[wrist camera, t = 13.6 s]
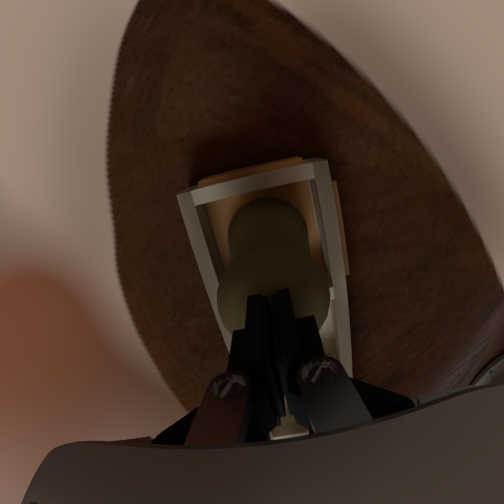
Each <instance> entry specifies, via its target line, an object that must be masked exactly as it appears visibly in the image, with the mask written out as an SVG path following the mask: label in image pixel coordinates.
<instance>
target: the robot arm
mask: <svg viewBox="0 0 504 504" xmlns="http://www.w3.org/2000/svg"><path fill="white" fill-rule="evenodd" d="M271 305H272V313H271V309H270V305H269V301H268V297H267V296H263V297H262V294H261V293H260V294H255V295H250V296H247V306H246V318H245V328H244V329H238V330H234V331H233V333H232V340H231V348H230V355H229V362H228V369H227V372H225V373H222V374H219V375H218V376H216V377H214V378H213V379H212V380H211V381H210V382H209V384H208V386H207V388H206V390H205V393H204V395H203V398H202V400H201V403H200V405H199V406H198V407H197V408H196V409H194V410H193V411H191V412H190V413H189V414H187V415H186V416H184V417H183V418H181V419H180V420H179V421H177V422H176V423H174V424H173V425H171V426H170V427H168V428H167V429H165V430H164V431H162V432H161V433H160V434H159V435H157V437H156V438H155V439H153V438H152V437H151V436H149V437H142V438H135V439H127V440H119V441H79V442H72V443H67V444H64V445H61V446H58V447H56V448H54V449H53V450H51V451H50V452H49V453H48V454H47V456H46V457H45V458H44V460H43V461H42V463H41V464H40V466H39V468H38V469H37V471H36V473H35V475H34V477H33V479H32V481H31V483H30V485H29V487H28V489H27V491H26V494H25V496H24V498H23V501H22V503H21V504H504V354H502V355H500V356H499V357H498V358H496V359H495V360H494V361H492V362H491V363H490V364H489V365H488V366H487V367H486V368H485V369H484V370H483V371H482V372H481V373H480V374H479V375H478V376H477V377H476V378H475V380H474V381H473V382H472V383H471V385H468V386H464V387H460V388H455V389H451V390H446V391H441V392H436V393H430V394H425V395H419V396H418V399H413V400H411V399H410V398H408V397H406V396H404V395H401V394H398V393H394V392H391V391H388V390H385V389H382V388H379V387H376V386H374V385H371V384H368V383H365V382H362V381H359V380H356V379H354V378H351V377H349V376H348V374H347V372H346V370H345V369H344V367H343V365H342V364H341V363H340V361H339V360H337V359H335V358H334V357H330V356H325V352H324V348H323V344H322V341H321V337H320V334H319V330H318V326H317V323H316V319H315V316H314V315H311V316H306V317H302V318H297V319H295V315H294V310H293V305H292V300H291V295H290V291H289V288H285V289H280V290H276V294H273V295H271ZM284 395H285V396H284ZM285 399H286V402H287V406H288V410H289V413H290V416H292V415H294V418H295V421H296V423H297V424H299V425H301V426H303V427H305V428H307V430H308V434H309V435H303V436H297V437H291V438H284V439H276V440H271V434H270V432H271V431H272V430H273V429H274V428H275V427H276V426H281V417H286V410H285Z"/></svg>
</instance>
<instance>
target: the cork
mask: <svg viewBox="0 0 504 504" xmlns="http://www.w3.org/2000/svg"><path fill="white" fill-rule="evenodd" d="M228 244H229V255H230V264H229V265H228V266H227V268H226V269H225V270H224V272H223V275H222V278H221V281H220V283H219V286H218V290H217V308H218V313H219V316H220V318H221V320H222V323H223V325H224V327H225V328H226V330H227V331H228V332H229V333H230V334H231V335H232V333H233V331H234V330H238V329H244V328H245V318H246V306H247V296H250V295H255V294H260V293H261V294H262V297H263V296H267V297H268V301H269V305H270V309H271V313H272V305H271V295H273V294H276V290H280V289H285V288H289V291H290V295H291V300H292V305H293V310H294V315H295V319H297V318H302V317H306V316H311V315H314V316H315V319H316V323H317V326H318V330H320V329H321V327H322V325H323V323H324V322H325V320H326V318H327V316H328V311H329V306H330V296H331V295H330V290H329V284H328V280H327V278H326V276H325V274H324V272H323V270H322V269H321V267H320V266H319V264H318V262H317V261H316V260H315V259H314V258H312V257H311V256H310V247H309V237H308V230H307V226H306V221H305V219H304V218H303V216H302V215H301V213H300V211H299V210H298V209H297V208H296V207H294V206H293V205H292V204H291V203H289V202H287V201H285V200H282V199H279V198H276V197H262V198H258V199H254V200H251V201H249V202H248V203H246V204H245V205H243V206H242V207H240V208H239V210H238V211H237V212H236V214H235V215H234V216H233V217H232V220H231V223H230V226H229V229H228Z"/></svg>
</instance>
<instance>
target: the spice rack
mask: <svg viewBox="0 0 504 504" xmlns="http://www.w3.org/2000/svg"><path fill="white" fill-rule="evenodd" d="M176 196H177V199H178V203H179V206H180V209H181V213H182V216H183V219H184V222H185V226H186V229H187V232H188V235H189V239H190V242H191V245H192V248H193V251H194V254H195V257H196V260H197V263H198V266H199V269H200V272H201V275H202V278H203V281H204V284H205V287H206V290H207V293H208V296H209V299H210V302H211V304H212V307H213V310H214V313H215V316H216V318H217V321H218V324H219V327H220V329H221V332H222V335H223V338H224V340H225V343H226V346H227V348H228V351H229V354H230V348H231V340H232V335H231V334H230V333H229V332H228V331H227V330H226V328H225V327H224V325H223V323H222V320H221V318H220V316H219V313H218V308H217V290H218V286H219V283H220V281H221V278H222V275H223V272H224V270H225V269H226V268H227V266H228V265H229V264H230V255H229V244H228V229H229V226H230V223H231V220H232V217H233V216H234V215H235V214H236V212H237V211H238V210H239V208H240V207H242V206H243V205H245V204H246V203H248V202H249V201H251V200H254V199H258V198H262V197H276V198H279V199H282V200H285V201H287V202H289V203H291V204H292V205H293V206H294V207H296V208H297V209H298V210H299V211H300V213H301V215H302V216H303V218H304V219H305V221H306V226H307V230H308V237H309V247H310V256H311V257H312V258H314V259H315V260H316V261H317V262H318V264H319V266H320V267H321V269H322V270H323V272H324V274H325V276H326V278H327V280H328V284H329V290H330V295H331V296H330V306H329V311H328V316H327V318H326V320H325V322H324V323H323V325H322V327H321V329H320V330H319V334H320V337H321V341H322V344H323V348H324V352H325V356H330V357H334V358H335V359H337V360H339V361H340V363H341V364H342V365H343V367H344V369H345V370H346V372H347V374H348V376H349V377H351V378H352V352H351V334H350V320H349V308H348V296H347V286H346V277H345V275H349V266H348V257H347V249H346V241H345V234H344V226H343V219H342V213H341V206H340V200H339V194H338V188H337V183H336V181H335V180H333V179H331V176H330V171H329V166H328V160H326V159H322V158H318V157H315V158H309V159H304V160H302V157H298V156H295V157H290V158H285V159H280V160H276V161H271V162H267V163H262V164H258V165H253V166H249V167H245V168H241V169H237V170H233V171H229V172H225V173H221V174H217V175H213V176H209V177H206V178H203V179H202V180H200V181H199V182H198V185H194V186H190V187H188V188H186V189H185V190H183V191H182V192H180V193H179V194H177V195H176ZM284 396H285V395H284ZM285 410H286V417H281V426H276V427H275V428H274V429H273V430H272V431H271V432H270V434H271V440H276V439H284V438H291V437H297V436H303V435H309V434H308V430H307V428H305V427H303V426H301V425H299V424H297V423H296V421H295V418H294V415H292V416H290V413H289V410H288V406H287V402H286V399H285Z"/></svg>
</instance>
